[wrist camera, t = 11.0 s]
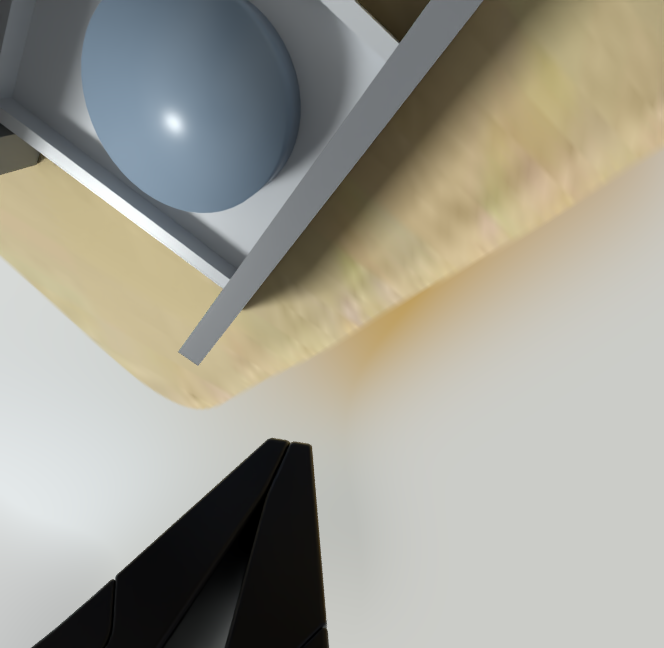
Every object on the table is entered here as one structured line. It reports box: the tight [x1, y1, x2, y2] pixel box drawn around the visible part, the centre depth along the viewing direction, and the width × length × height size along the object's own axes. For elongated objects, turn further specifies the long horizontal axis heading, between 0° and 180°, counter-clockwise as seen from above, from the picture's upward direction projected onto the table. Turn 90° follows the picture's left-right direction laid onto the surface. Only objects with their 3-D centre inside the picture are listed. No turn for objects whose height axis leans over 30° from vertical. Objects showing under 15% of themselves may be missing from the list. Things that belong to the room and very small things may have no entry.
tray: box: [0, 0, 483, 365], centre depth 15 cm, size 13×16×4 cm
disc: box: [81, 0, 301, 213], centre depth 15 cm, size 7×7×2 cm
